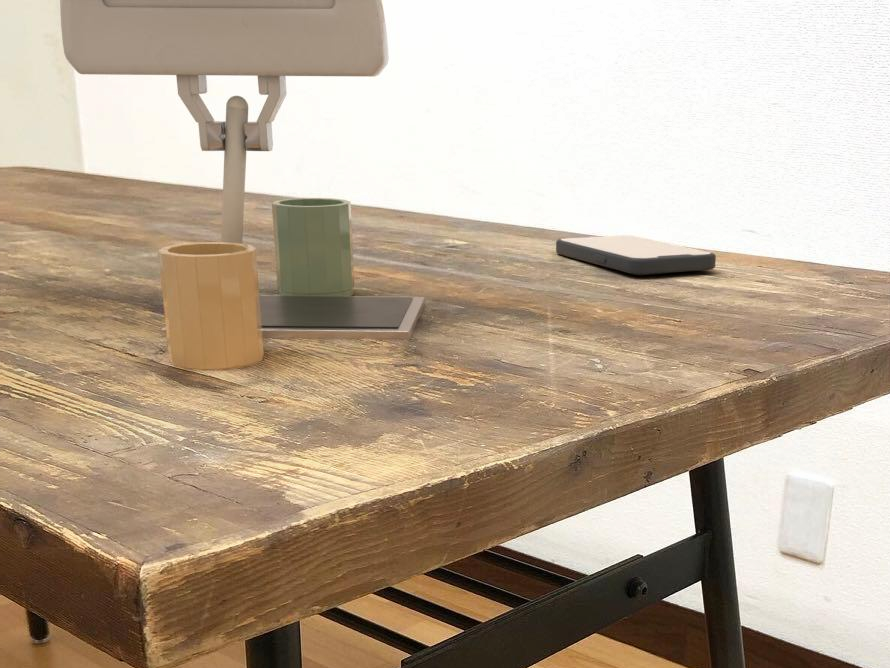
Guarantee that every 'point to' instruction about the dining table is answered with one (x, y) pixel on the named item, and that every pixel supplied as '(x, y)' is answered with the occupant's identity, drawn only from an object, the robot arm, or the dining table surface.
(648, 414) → the dining table surface
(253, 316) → the pen stand
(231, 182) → the stylus
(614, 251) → the phone case
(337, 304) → the tablet
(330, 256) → the pen cup
